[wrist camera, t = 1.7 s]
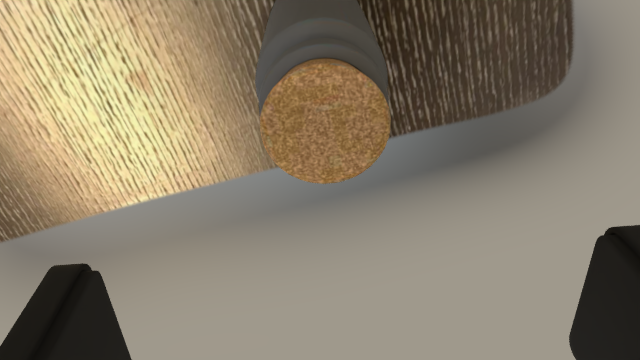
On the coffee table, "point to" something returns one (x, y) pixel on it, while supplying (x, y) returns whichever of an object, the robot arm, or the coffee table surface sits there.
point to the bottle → (322, 90)
